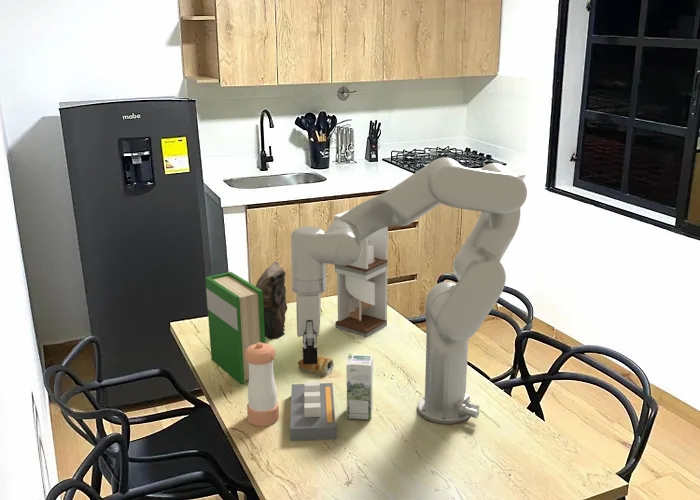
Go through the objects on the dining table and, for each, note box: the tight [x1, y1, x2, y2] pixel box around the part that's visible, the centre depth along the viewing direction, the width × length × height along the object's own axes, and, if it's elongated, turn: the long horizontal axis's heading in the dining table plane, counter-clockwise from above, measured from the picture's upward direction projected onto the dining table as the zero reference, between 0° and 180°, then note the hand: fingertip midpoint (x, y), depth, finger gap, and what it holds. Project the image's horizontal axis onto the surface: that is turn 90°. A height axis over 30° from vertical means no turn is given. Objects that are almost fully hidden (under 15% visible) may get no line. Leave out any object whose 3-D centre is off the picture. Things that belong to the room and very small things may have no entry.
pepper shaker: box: [245, 342, 280, 427], centre depth 163 cm, size 7×7×19 cm
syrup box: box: [346, 353, 374, 421], centre depth 165 cm, size 6×6×14 cm
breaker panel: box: [289, 382, 337, 442], centre depth 166 cm, size 20×10×3 cm, turn 3°
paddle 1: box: [303, 380, 321, 392], centre depth 170 cm, size 1×4×3 cm, turn 94°
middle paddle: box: [304, 392, 320, 403], centre depth 165 cm, size 1×4×3 cm, turn 94°
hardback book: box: [205, 271, 266, 386], centre depth 186 cm, size 18×7×24 cm, turn 35°
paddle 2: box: [304, 403, 321, 417], centre depth 160 cm, size 1×4×3 cm, turn 93°
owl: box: [255, 260, 288, 340], centre depth 209 cm, size 13×13×20 cm
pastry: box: [297, 355, 335, 377], centre depth 189 cm, size 9×7×4 cm
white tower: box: [333, 209, 389, 338], centre depth 209 cm, size 11×11×35 cm
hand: (310, 353), depth 162 cm, fingers open, 9 cm apart
